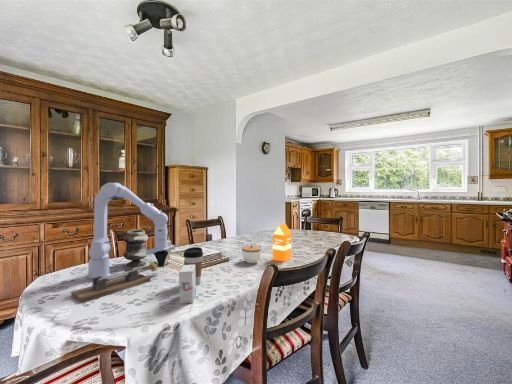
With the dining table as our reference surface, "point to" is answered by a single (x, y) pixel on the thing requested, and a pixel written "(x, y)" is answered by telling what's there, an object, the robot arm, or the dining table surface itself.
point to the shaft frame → (109, 286)
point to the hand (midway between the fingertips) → (161, 266)
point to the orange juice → (282, 243)
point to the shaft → (152, 267)
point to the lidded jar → (251, 253)
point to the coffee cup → (194, 260)
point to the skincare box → (168, 253)
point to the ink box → (187, 284)
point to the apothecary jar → (135, 247)
